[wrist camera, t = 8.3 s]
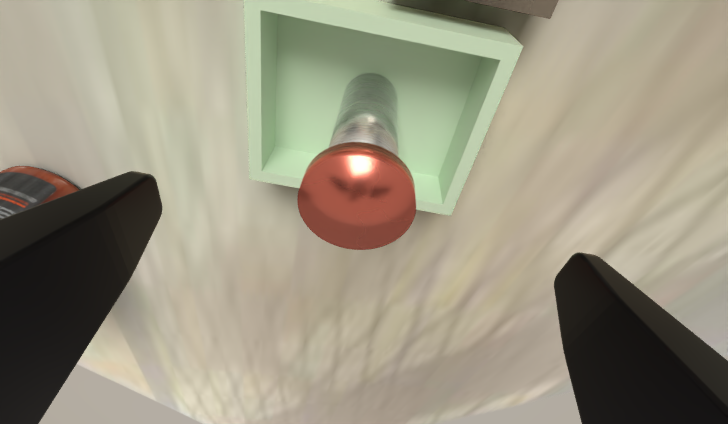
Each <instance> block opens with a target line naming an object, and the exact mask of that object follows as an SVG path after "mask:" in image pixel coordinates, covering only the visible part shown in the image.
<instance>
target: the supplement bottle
mask: <svg viewBox="0 0 728 424" xmlns="http://www.w3.org/2000/svg"><path fill="white" fill-rule="evenodd" d="M78 190H79V189H78V188H77V187H75V186H74V185H73V184H71V183H70V182H68V181H67V180H65V179H64V178H62V177H60V176H58V175H56V174H54V173H51V172H49V171H46V170H42V169H39V168H35V167H29V166H16V167H11V168H8V169H6V170H3V171H1V172H0V219H3V218H5V217H8V216H11V215H13V214H16V213H19V212H22V211H24V210H27V209H30V208H32V207H35V206H38V205H40V204H43V203H46V202H49V201H51V200H54V199H57V198H59V197H62V196H65V195H68V194H70V193H73V192H76V191H78Z"/></svg>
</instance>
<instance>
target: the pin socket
mask: <svg viewBox="0 0 728 424" xmlns="http://www.w3.org/2000/svg"><path fill="white" fill-rule="evenodd" d="M465 1H470V2H474V3H479V4H484V5H488V6H493V7H497V8H502V9H507V10H511V11H516V12H521V13H525V14H530V15H534V16H539V17H544V18H548V19H550V18H551V16H552V13H553V11H554V9H555V7H556V5H557V2H558V0H465Z"/></svg>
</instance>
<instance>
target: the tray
mask: <svg viewBox="0 0 728 424" xmlns="http://www.w3.org/2000/svg"><path fill="white" fill-rule="evenodd" d="M244 29H245V60H246V90H247V121H248V151H249V179H251V180H256V181H262V182H267V183H273V184H278V185H284V186H289V187H295V188H300V185H301V182H302V180H303V177H304V174H305V171H306V169H307V167H308V165H309V164H310V162H311V161H312V160H313V159H314V158H315V157H316V156H317V155H318V154H319V153H321V152H322V151H324V150H325V149H327V148H329V144H330V141H331V137H332V134H333V130H334V127H335V123H336V120H337V116H338V113H339V109H340V106H341V102H342V98H343V95H344V91H345V89H346V87H347V85H348V84H349V82H350V81H351V80H352V79H354V78H355V77H356V76H358V75H361V74H364V73H376V74H379V75H382V76H384V77H385V78H387V79H388V80H389V81H390V82H391V83H392V84H393V86H394V88H395V90H396V93H397V101H398V157H399V158H400V159H401V160H402V161H403V162H404V163H405V165H406V166H407V167H408V169H409V170H410V172H411V175H412V177H413V180H414V184H415V197H416V210H421V211H426V212H432V213H437V214H443V215H448V216H451V214H452V212H453V210H454V207H455V205H456V203H457V200H458V198H459V196H460V193H461V191H462V189H463V186H464V184H465V182H466V179H467V177H468V175H469V172H470V170H471V168H472V165H473V163H474V161H475V158H476V156H477V154H478V151H479V149H480V147H481V144H482V142H483V140H484V137H485V135H486V133H487V130H488V128H489V126H490V123H491V121H492V119H493V116H494V114H495V112H496V109H497V107H498V105H499V102H500V100H501V98H502V95H503V93H504V91H505V88H506V86H507V84H508V81H509V79H510V77H511V74H512V72H513V70H514V67H515V65H516V63H517V60H518V58H519V56H520V53H521V51H522V49H523V46H522V45H521V44H520V43H519V42H518V41H517V40H516V39H515V38H514V37H513V36H512V35H511V34H510V33H509V32H508V31H507V30H506V29H505V28H504V27H499V26H494V25H489V24H485V23H480V22H475V21H471V20H466V19H461V18H457V17H452V16H447V15H443V14H438V13H433V12H429V11H424V10H419V9H415V8H410V7H405V6H400V5H396V4H391V3H386V2H382V1H377V0H244Z"/></svg>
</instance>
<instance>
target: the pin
mask: <svg viewBox="0 0 728 424" xmlns="http://www.w3.org/2000/svg"><path fill="white" fill-rule="evenodd" d="M298 208H299V212H300V215H301V217H302V219H303V221H304V222H305V224H306V225H307V226H308V227H309V229H310V230H311V231H312V232H313V233H315V234H316V235H317V236H318V237H320V238H321V239H323V240H325V241H327V242H328V243H331V244H333V245H336V246H339V247H343V248H347V249H355V250H365V249H374V248H378V247H382V246H385V245H387V244H389V243H391V242H393V241H395V240H397V239H398V238H400V237H401V236H402V235H403V234H404V233H405V232H406V231H407V230H408V228H409V227H410V225H411V224H412V222H413V219H414V217H415V213H416V197H415V184H414V180H413V177H412V175H411V172H410V170H409V169H408V167H407V166H406V165H405V163H404V162H403V161H402V160H401V159H400V158H399V157H398V101H397V93H396V90H395V88H394V86H393V84H392V83H391V82H390V81H389V80H388V79H387V78H385V77H384V76H382V75H379V74H376V73H364V74H361V75H358V76H356V77H355V78H354V79H352V80H351V81H350V82H349V84H348V85H347V87H346V89H345V91H344V95H343V98H342V102H341V106H340V109H339V113H338V116H337V120H336V123H335V127H334V130H333V134H332V137H331V141H330V144H329V148H327V149H325V150H324V151H322V152H321V153H319V154H318V155H317V156H316V157H315V158H314V159H313V160H312V161H311V162H310V164H309V165H308V167H307V169H306V171H305V174H304V177H303V180H302V182H301V185H300V188H299V191H298Z"/></svg>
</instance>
